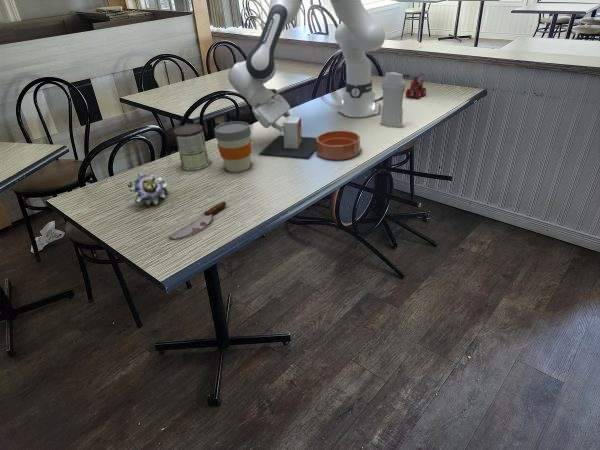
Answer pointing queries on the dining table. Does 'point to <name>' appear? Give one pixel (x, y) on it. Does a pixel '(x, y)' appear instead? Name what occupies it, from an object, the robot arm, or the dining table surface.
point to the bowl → (338, 145)
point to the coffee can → (191, 146)
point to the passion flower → (148, 188)
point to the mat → (302, 152)
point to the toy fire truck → (416, 87)
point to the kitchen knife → (198, 222)
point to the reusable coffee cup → (234, 145)
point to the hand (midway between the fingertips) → (287, 126)
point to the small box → (292, 132)
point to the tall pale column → (392, 99)
